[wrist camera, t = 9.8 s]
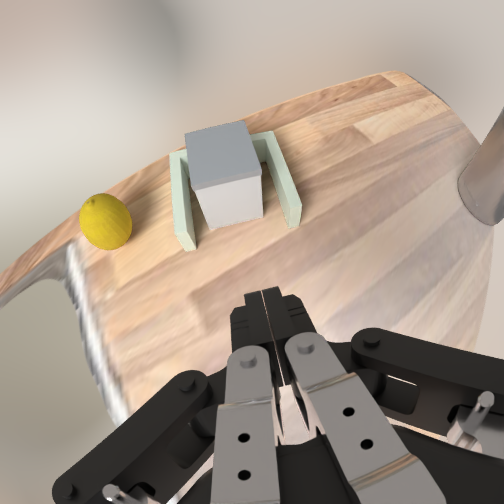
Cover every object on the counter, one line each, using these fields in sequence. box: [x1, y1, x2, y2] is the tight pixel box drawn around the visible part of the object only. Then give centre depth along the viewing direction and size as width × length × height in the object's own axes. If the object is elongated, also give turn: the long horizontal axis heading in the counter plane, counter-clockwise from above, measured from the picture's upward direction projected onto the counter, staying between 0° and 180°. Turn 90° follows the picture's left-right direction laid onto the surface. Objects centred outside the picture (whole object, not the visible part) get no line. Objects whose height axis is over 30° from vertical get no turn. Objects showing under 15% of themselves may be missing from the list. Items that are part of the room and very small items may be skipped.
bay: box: [170, 131, 302, 252], centre depth 31 cm, size 12×11×4 cm
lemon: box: [79, 193, 132, 250], centre depth 28 cm, size 6×6×8 cm
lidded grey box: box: [185, 120, 263, 230], centre depth 29 cm, size 6×7×8 cm
